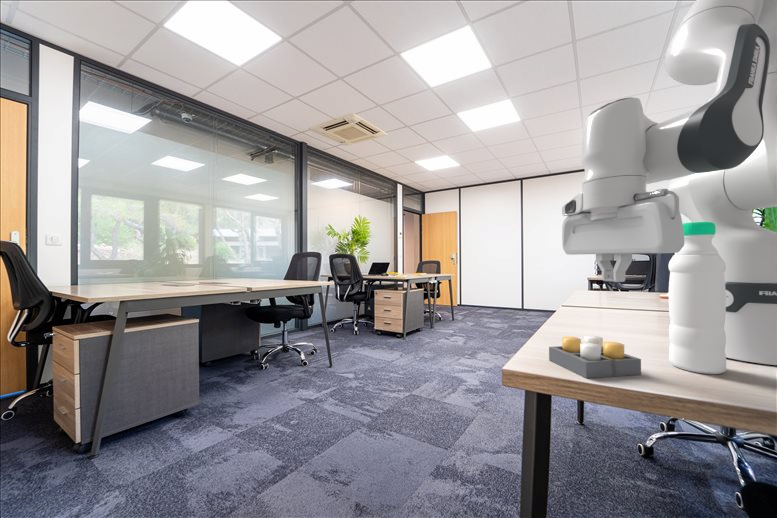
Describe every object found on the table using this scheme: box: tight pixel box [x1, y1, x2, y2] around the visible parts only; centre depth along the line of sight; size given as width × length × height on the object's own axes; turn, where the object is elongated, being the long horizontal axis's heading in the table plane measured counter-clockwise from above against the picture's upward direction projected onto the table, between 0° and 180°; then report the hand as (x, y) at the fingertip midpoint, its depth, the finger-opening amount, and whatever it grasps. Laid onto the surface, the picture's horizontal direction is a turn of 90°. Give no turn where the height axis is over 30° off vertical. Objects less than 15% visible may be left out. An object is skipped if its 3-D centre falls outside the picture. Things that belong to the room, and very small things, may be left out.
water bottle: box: [668, 221, 727, 375], centre depth 54 cm, size 7×7×25 cm
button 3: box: [583, 335, 604, 351], centre depth 58 cm, size 3×3×3 cm
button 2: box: [580, 342, 601, 361], centre depth 53 cm, size 3×3×3 cm
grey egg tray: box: [548, 345, 642, 379], centre depth 55 cm, size 10×9×2 cm
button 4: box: [603, 341, 625, 360], centre depth 53 cm, size 3×3×3 cm
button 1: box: [561, 336, 582, 353], centre depth 57 cm, size 3×3×3 cm
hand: (613, 281), depth 53 cm, fingers closed
